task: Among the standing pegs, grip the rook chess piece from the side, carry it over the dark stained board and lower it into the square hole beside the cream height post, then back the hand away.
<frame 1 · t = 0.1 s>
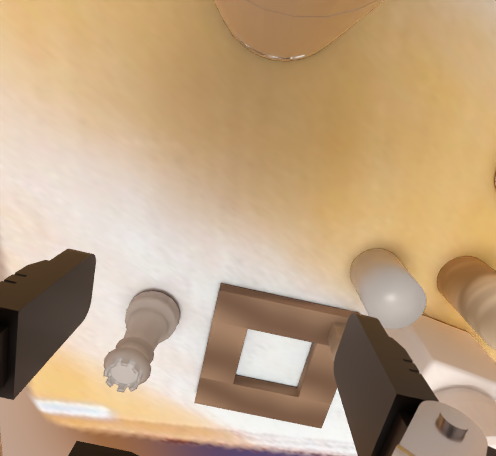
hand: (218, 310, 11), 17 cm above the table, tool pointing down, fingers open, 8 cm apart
hole board: (273, 355, 33), on the table
medium beech peg: (462, 278, 29), on the table
rook chess piece: (156, 309, 32), on the table
short grey peg: (374, 271, 30), on the table
medicine bottle: (410, 348, 32), on the table
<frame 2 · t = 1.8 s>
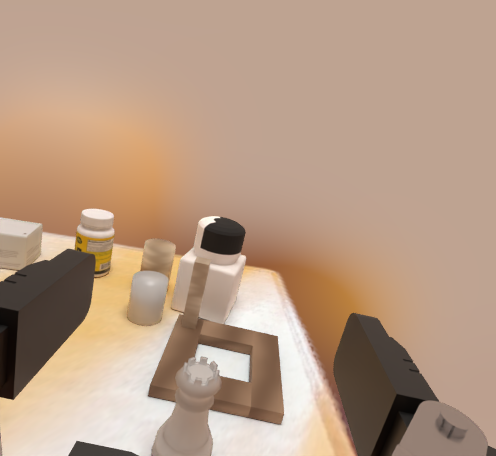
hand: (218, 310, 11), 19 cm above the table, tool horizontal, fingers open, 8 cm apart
hole board: (221, 366, 38), on the table
supplement bottle: (91, 271, 51), on the table
medium beech peg: (152, 288, 50), on the table
small box: (10, 261, 48), on the table
short grey peg: (144, 315, 43), on the table
medicine bottle: (204, 306, 49), on the table
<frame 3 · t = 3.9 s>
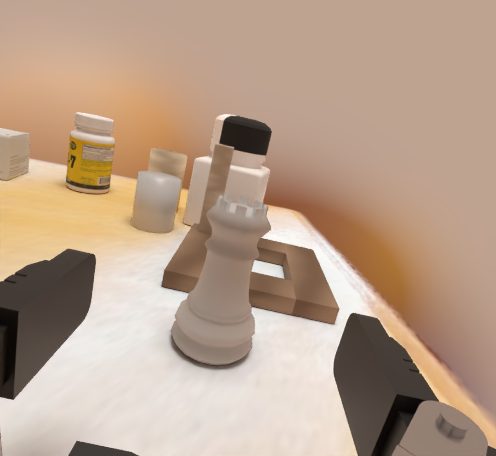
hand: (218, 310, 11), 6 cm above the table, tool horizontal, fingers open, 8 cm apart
hole board: (250, 271, 30), on the table
supplement bottle: (87, 190, 43), on the table
medium beech peg: (160, 207, 42), on the table
rook chess piece: (210, 345, 20), on the table
short grey peg: (152, 225, 36), on the table
medicine bottle: (221, 226, 42), on the table
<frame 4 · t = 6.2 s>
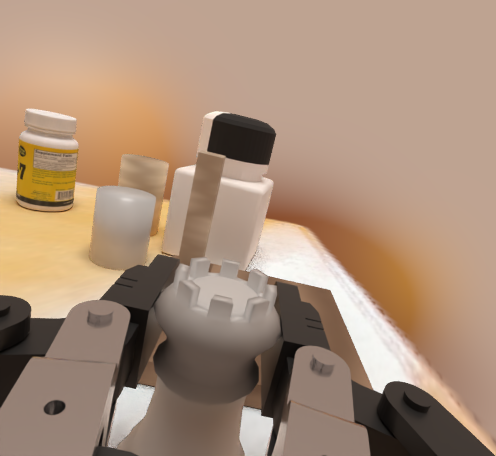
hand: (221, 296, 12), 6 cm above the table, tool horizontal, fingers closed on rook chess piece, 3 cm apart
hole board: (246, 330, 22), on the table
supplement bottle: (45, 206, 34), on the table
medium beech peg: (135, 228, 34), on the table
short grey peg: (118, 258, 27), on the table
medicine bottle: (212, 253, 33), on the table
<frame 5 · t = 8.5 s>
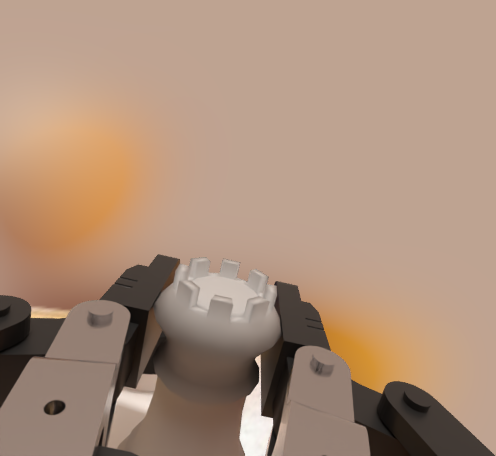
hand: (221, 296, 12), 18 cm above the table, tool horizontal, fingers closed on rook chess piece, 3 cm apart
medicine bottle: (132, 448, 26), on the table
when the fingers open (7 cm above the table, at t = 10.8 s): rook chess piece stays where it is, resting in hole board.
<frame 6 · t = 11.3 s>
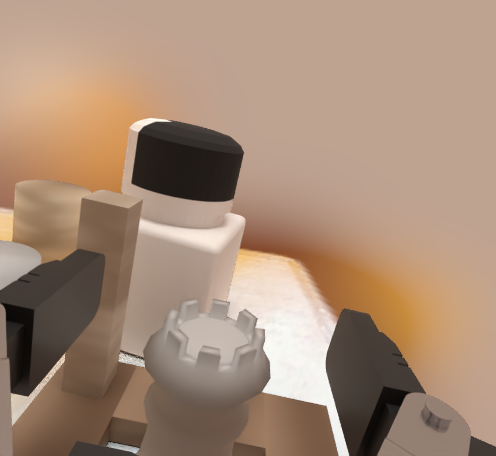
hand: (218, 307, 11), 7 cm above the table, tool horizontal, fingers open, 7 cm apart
medium beech peg: (47, 286, 23), on the table
medicine bottle: (155, 325, 22), on the table
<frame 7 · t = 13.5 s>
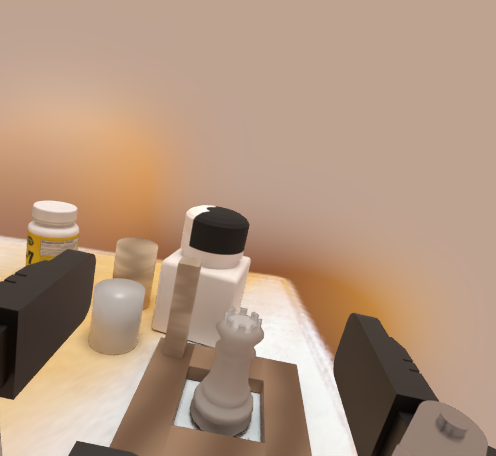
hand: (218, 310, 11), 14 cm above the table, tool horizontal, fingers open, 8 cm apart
hole board: (219, 414, 26), on the table
supplement bottle: (50, 282, 39), on the table
medium beech peg: (129, 302, 38), on the table
rook chess piece: (219, 417, 26), resting in hole board
short grey peg: (113, 340, 32), on the table
medicine bottle: (197, 324, 37), on the table
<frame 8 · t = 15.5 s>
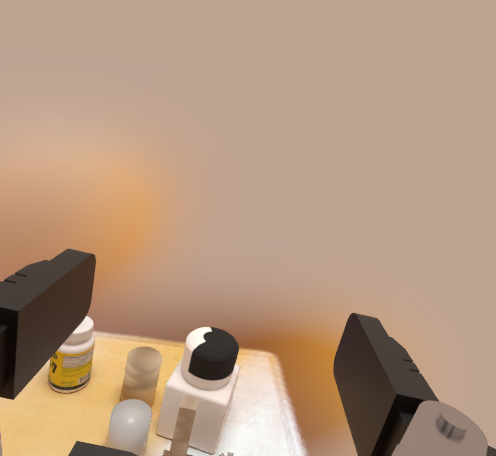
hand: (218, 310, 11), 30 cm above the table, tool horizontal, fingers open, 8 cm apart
supplement bottle: (69, 381, 46), on the table
medium beech peg: (137, 400, 45), on the table
short grey peg: (125, 451, 39), on the table
medicine bottle: (194, 423, 44), on the table
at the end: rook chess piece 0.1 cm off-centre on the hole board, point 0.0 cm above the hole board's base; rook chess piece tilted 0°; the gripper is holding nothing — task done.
